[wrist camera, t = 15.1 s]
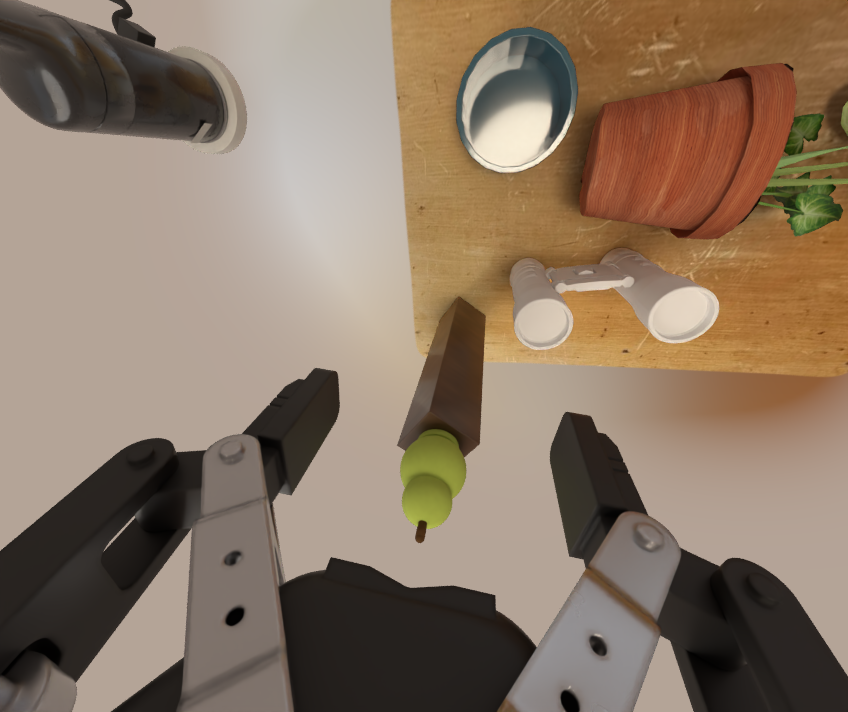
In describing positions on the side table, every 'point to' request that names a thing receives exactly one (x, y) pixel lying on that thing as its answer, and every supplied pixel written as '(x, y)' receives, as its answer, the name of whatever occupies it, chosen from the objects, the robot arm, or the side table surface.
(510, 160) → the teal bowl
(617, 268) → the binoculars
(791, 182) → the potted plant
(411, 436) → the pedestal
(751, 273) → the side table surface
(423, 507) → the pear
